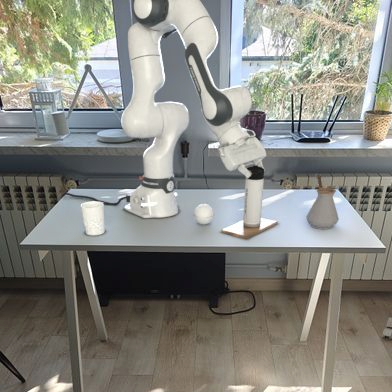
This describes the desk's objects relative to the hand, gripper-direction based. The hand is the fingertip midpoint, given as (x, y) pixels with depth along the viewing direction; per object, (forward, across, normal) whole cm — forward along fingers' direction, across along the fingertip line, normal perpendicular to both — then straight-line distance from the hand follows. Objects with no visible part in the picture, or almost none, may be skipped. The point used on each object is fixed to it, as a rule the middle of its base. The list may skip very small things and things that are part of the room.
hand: (256, 174), depth 172 cm
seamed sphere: (+2, -9, +25) cm, 26 cm away
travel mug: (+12, 0, +14) cm, 18 cm away
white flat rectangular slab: (+13, -1, +14) cm, 19 cm away
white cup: (-16, -39, +43) cm, 60 cm away
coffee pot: (+24, +21, +3) cm, 32 cm away
